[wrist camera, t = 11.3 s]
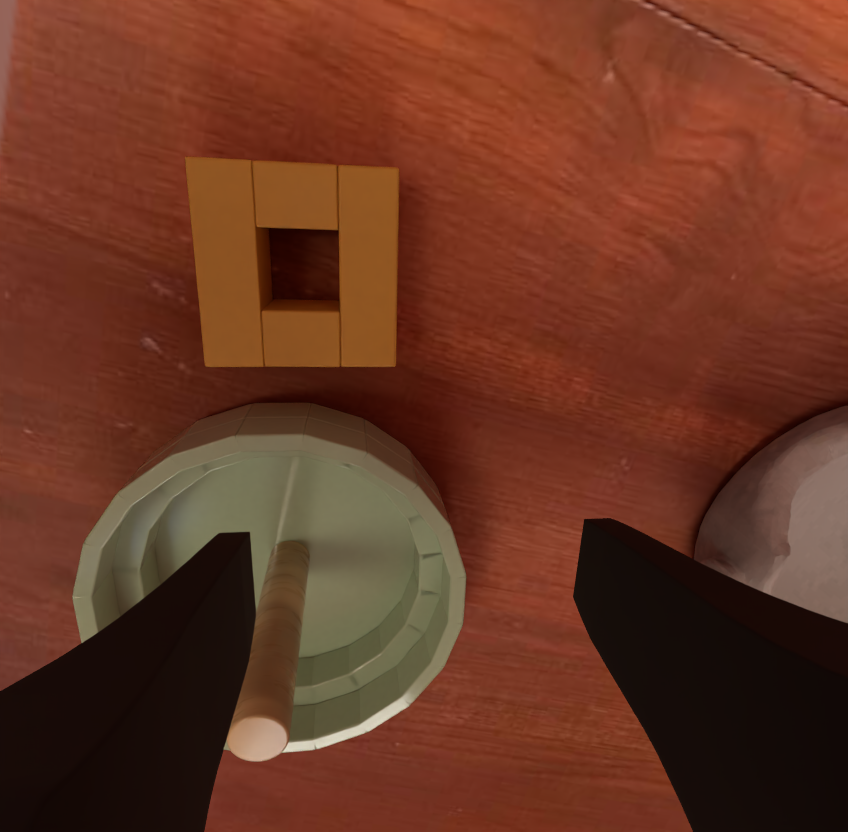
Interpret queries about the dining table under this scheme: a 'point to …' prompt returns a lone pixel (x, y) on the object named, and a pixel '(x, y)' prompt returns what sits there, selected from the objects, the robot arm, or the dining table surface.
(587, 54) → the dining table surface
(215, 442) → the bowl
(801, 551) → the dish
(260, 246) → the stand
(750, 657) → the robot arm
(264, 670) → the stick
